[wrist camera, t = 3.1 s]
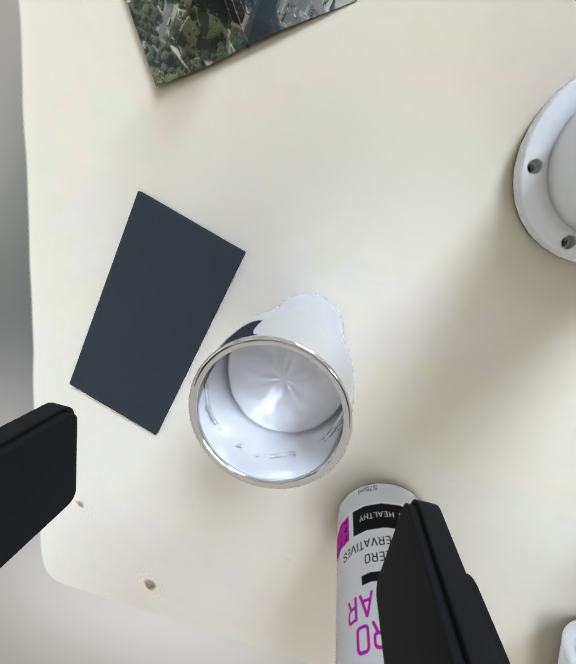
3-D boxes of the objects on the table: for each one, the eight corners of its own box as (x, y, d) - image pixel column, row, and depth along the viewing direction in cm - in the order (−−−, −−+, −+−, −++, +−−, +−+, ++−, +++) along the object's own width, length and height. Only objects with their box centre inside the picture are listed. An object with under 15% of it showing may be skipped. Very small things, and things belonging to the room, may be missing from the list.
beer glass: (358, 296, 25) (379, 354, 11) (338, 376, 27) (335, 513, 13) (274, 279, 26) (191, 312, 12) (260, 357, 28) (176, 468, 14)
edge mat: (141, 191, 26) (138, 190, 26) (245, 252, 26) (244, 252, 26) (72, 382, 32) (69, 383, 32) (157, 433, 32) (155, 435, 31)
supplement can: (383, 564, 31) (419, 831, 17) (320, 511, 31) (302, 736, 17) (447, 519, 29) (553, 783, 15) (380, 461, 29) (420, 672, 14)
